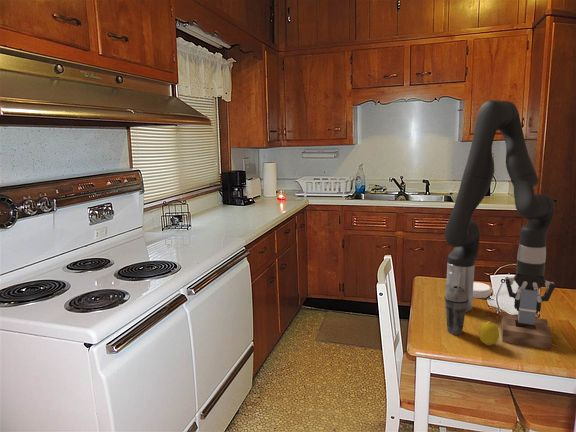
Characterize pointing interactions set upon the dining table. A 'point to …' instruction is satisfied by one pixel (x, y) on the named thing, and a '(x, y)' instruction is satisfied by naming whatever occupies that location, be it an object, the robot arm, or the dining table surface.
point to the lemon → (489, 333)
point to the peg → (527, 306)
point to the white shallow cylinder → (481, 290)
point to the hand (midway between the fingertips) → (527, 310)
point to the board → (526, 332)
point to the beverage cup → (455, 308)
